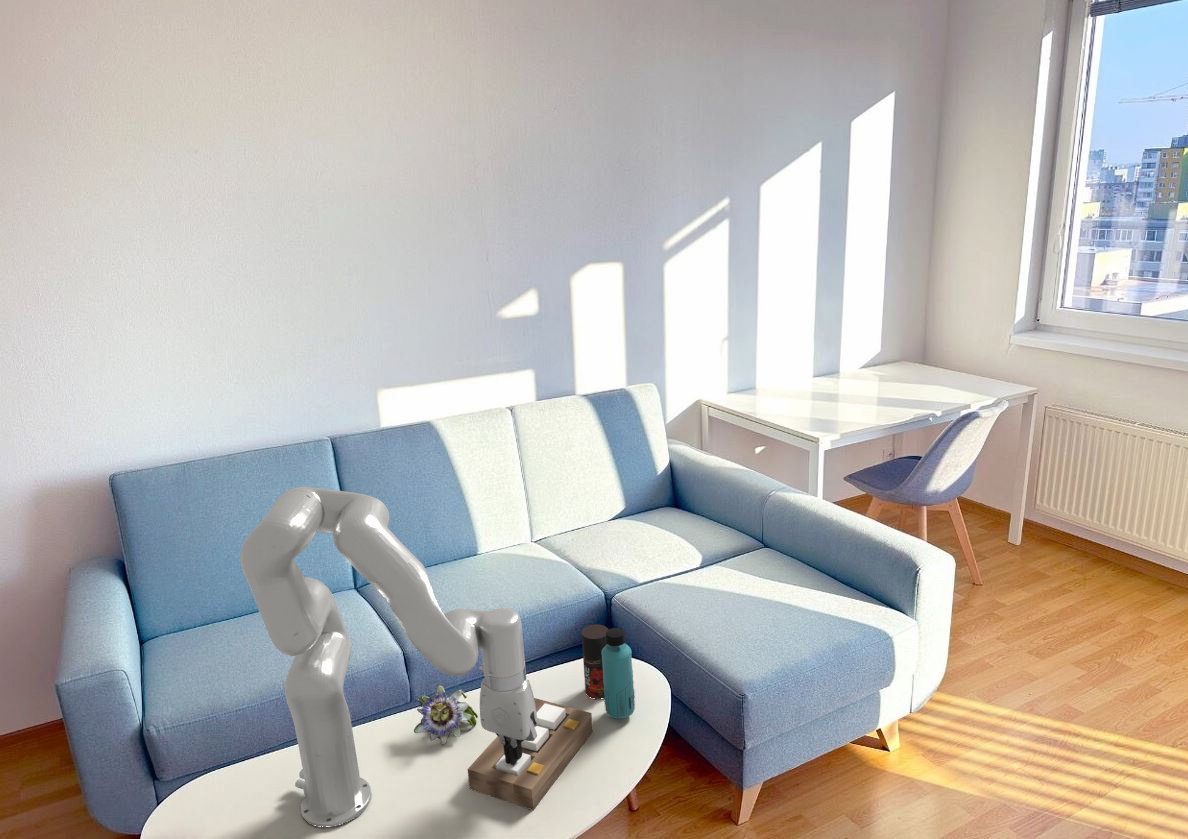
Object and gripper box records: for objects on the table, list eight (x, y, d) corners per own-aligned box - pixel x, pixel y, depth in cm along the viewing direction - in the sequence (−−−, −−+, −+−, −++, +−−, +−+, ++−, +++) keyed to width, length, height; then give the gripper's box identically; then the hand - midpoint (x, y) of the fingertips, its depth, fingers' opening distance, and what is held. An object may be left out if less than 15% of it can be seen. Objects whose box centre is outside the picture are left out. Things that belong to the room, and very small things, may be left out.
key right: (533, 724, 168) (533, 716, 168) (545, 710, 173) (544, 703, 172) (554, 730, 166) (553, 722, 166) (565, 716, 170) (565, 708, 170)
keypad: (469, 789, 158) (467, 767, 156) (534, 715, 178) (532, 696, 177) (533, 810, 151) (531, 788, 150) (592, 731, 172) (591, 711, 170)
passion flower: (447, 764, 173) (408, 738, 166) (439, 725, 182) (403, 699, 176) (489, 731, 172) (452, 703, 166) (479, 694, 182) (444, 666, 175)
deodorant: (617, 688, 186) (613, 628, 182) (603, 702, 181) (599, 641, 177) (594, 680, 189) (590, 622, 185) (580, 694, 184) (576, 634, 180)
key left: (496, 772, 157) (495, 764, 156) (509, 756, 161) (509, 748, 160) (518, 779, 155) (517, 771, 154) (531, 763, 159) (530, 755, 158)
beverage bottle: (633, 726, 173) (629, 641, 167) (601, 724, 174) (596, 639, 168) (637, 707, 179) (634, 624, 173) (607, 705, 180) (602, 622, 175)
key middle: (515, 745, 163) (514, 737, 162) (528, 730, 167) (527, 723, 166) (536, 751, 160) (536, 743, 160) (548, 736, 164) (548, 728, 164)
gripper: (459, 677, 152) (469, 762, 157) (530, 695, 146) (538, 783, 151) (482, 656, 159) (491, 738, 164) (551, 672, 152) (558, 757, 157)
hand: (513, 759), depth 157 cm, fingers closed
